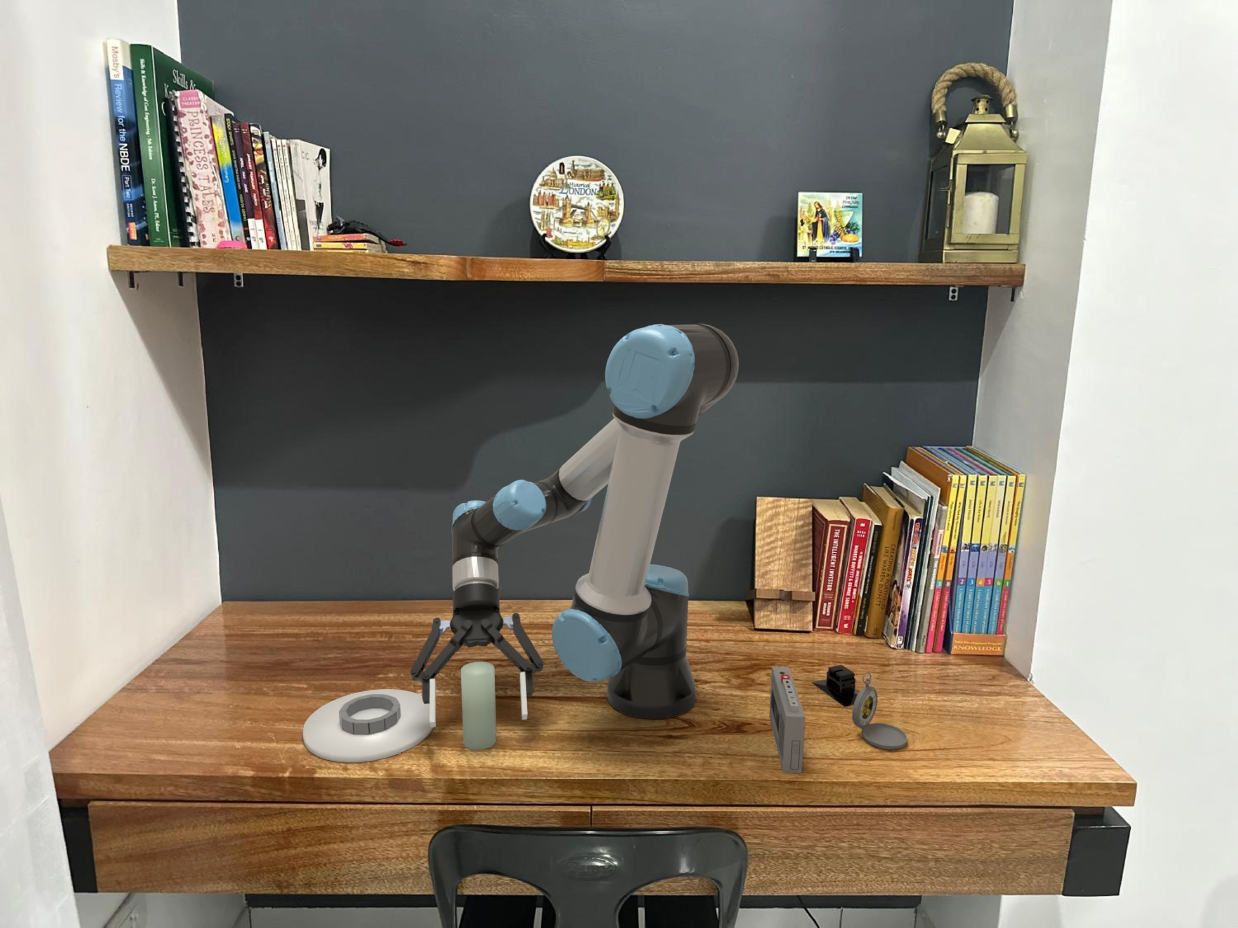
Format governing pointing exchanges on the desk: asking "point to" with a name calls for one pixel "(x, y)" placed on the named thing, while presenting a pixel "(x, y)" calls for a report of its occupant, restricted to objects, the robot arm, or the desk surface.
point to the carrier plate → (367, 726)
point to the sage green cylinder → (478, 705)
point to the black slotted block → (839, 685)
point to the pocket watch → (875, 732)
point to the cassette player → (787, 720)
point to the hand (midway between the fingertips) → (479, 720)
